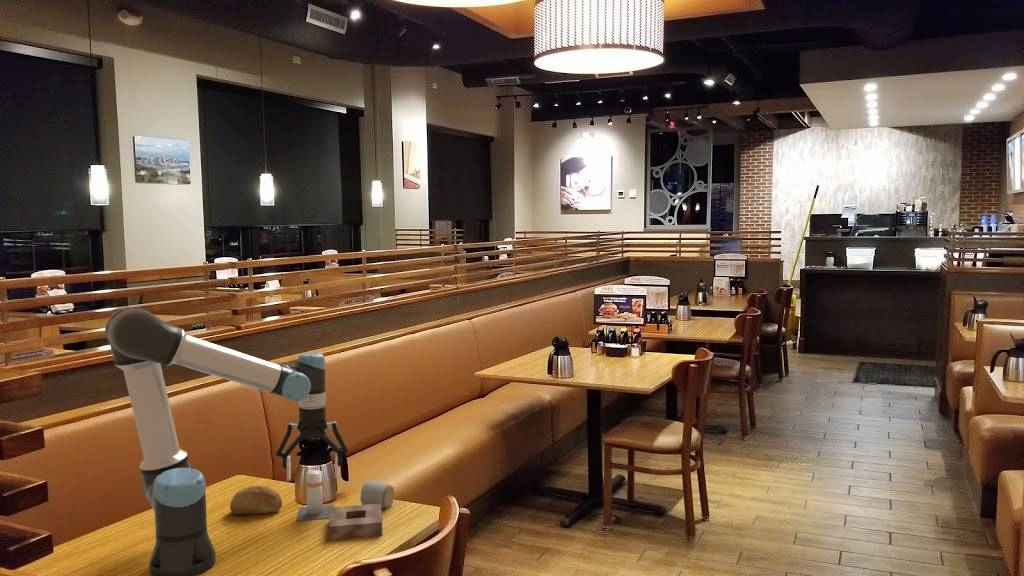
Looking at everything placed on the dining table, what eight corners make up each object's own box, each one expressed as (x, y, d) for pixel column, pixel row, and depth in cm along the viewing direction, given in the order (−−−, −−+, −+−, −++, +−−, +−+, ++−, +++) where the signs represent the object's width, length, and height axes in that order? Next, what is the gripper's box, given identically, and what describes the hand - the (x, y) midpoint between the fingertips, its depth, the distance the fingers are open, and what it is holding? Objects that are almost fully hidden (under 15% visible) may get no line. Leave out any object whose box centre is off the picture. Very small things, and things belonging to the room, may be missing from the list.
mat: (296, 522, 211) (296, 520, 211) (299, 509, 221) (299, 507, 221) (332, 519, 213) (332, 517, 213) (334, 506, 223) (333, 505, 223)
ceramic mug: (384, 512, 218) (384, 487, 217) (360, 509, 220) (359, 484, 220) (400, 500, 228) (400, 476, 228) (376, 497, 230) (376, 473, 230)
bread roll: (278, 518, 215) (277, 491, 214) (225, 520, 214) (224, 493, 213) (285, 505, 224) (284, 480, 224) (234, 507, 223) (233, 482, 222)
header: (328, 541, 198) (327, 526, 198) (331, 520, 212) (330, 507, 212) (382, 536, 201) (382, 522, 200) (382, 516, 215) (381, 503, 215)
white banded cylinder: (306, 516, 214) (305, 475, 213) (308, 510, 219) (306, 470, 218) (322, 514, 215) (321, 474, 214) (323, 509, 220) (322, 469, 219)
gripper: (265, 410, 208) (266, 484, 210) (355, 407, 213) (356, 479, 215) (269, 404, 216) (270, 475, 217) (356, 402, 220) (356, 471, 222)
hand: (312, 478), depth 216 cm, fingers open, 13 cm apart
